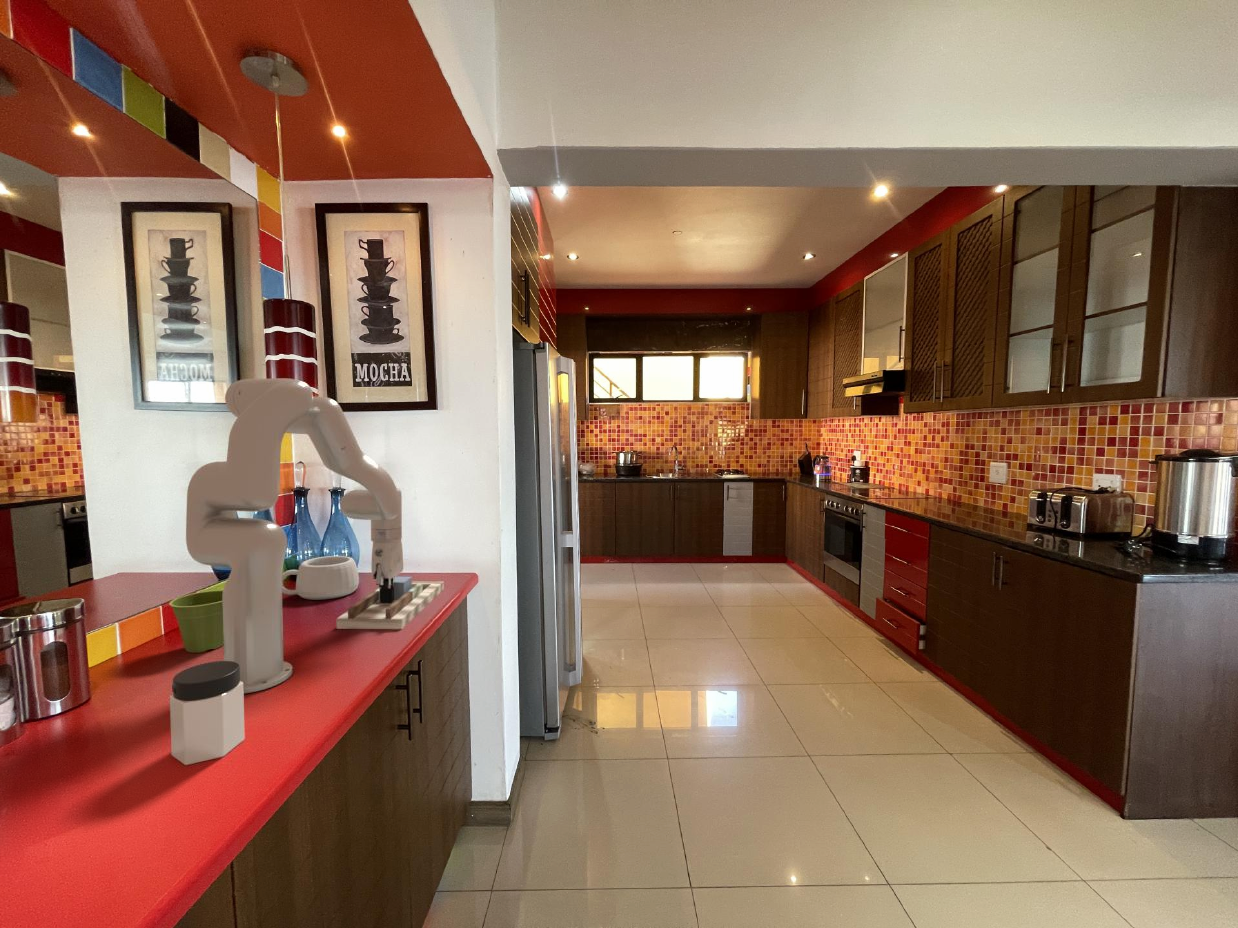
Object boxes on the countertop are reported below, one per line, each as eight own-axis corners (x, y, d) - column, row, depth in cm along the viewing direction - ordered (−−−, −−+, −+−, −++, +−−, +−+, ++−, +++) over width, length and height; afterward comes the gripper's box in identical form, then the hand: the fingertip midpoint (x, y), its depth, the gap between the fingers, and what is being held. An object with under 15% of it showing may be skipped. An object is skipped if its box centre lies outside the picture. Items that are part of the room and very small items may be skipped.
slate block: (403, 600, 147) (403, 582, 147) (381, 600, 147) (381, 582, 147) (411, 593, 153) (411, 576, 153) (390, 593, 153) (390, 576, 153)
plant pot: (178, 642, 122) (177, 593, 122) (241, 633, 128) (240, 587, 127) (163, 661, 112) (161, 609, 111) (232, 652, 117) (231, 601, 117)
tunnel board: (401, 628, 132) (401, 609, 132) (336, 628, 132) (336, 608, 132) (443, 589, 166) (443, 573, 166) (392, 588, 166) (391, 573, 166)
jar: (205, 731, 86) (203, 658, 86) (255, 732, 86) (253, 659, 86) (157, 765, 77) (154, 684, 77) (212, 766, 77) (210, 685, 77)
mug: (351, 582, 173) (351, 552, 172) (365, 595, 160) (365, 562, 159) (273, 594, 159) (272, 561, 158) (281, 609, 146) (280, 572, 146)
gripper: (389, 539, 134) (390, 611, 135) (411, 529, 149) (411, 593, 150) (359, 539, 134) (360, 611, 135) (383, 529, 149) (384, 593, 150)
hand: (387, 601), depth 143 cm, fingers closed
